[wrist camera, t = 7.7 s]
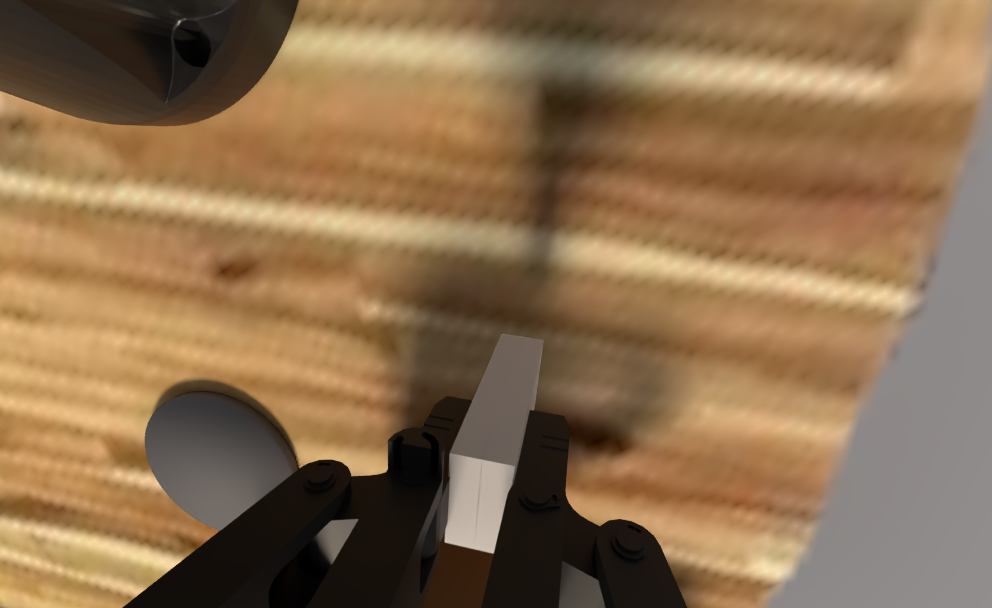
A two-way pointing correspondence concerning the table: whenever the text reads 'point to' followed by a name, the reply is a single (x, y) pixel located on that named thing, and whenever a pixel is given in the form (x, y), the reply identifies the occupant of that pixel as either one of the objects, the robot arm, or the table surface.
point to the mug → (458, 577)
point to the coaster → (215, 455)
